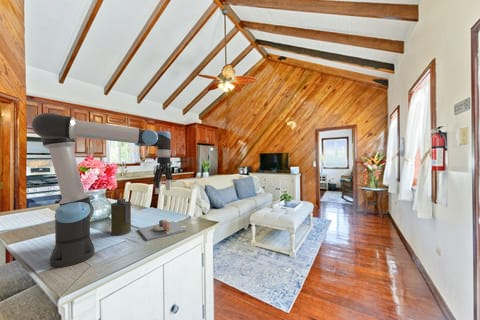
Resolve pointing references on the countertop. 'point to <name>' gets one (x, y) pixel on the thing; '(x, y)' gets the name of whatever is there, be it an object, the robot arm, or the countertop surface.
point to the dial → (162, 226)
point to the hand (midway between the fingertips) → (163, 191)
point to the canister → (120, 217)
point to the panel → (151, 235)
